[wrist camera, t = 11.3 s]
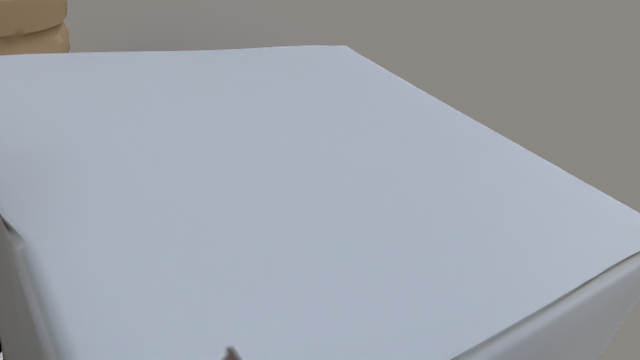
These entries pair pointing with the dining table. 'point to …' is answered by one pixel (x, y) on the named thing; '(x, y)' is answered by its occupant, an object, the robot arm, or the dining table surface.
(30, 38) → the container
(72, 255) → the rectangular carton
